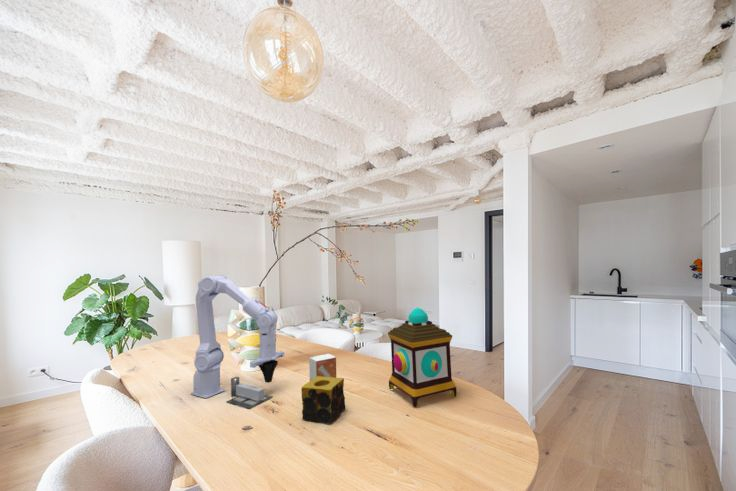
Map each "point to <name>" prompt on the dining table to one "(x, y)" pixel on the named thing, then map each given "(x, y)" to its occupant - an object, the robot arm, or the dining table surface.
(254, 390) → the gray rectangular box
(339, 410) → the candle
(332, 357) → the small box
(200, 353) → the robot arm
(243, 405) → the label panel
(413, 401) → the decorative lantern
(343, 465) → the dining table surface
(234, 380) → the post
